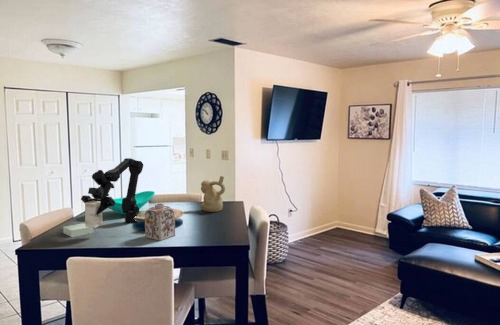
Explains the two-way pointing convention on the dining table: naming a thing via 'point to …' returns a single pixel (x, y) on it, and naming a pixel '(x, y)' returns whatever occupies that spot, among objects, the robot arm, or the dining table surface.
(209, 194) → the ceramic vessel
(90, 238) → the dining table surface
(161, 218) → the decorative jar
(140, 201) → the table top decor
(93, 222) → the cream block
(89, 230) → the sage block
